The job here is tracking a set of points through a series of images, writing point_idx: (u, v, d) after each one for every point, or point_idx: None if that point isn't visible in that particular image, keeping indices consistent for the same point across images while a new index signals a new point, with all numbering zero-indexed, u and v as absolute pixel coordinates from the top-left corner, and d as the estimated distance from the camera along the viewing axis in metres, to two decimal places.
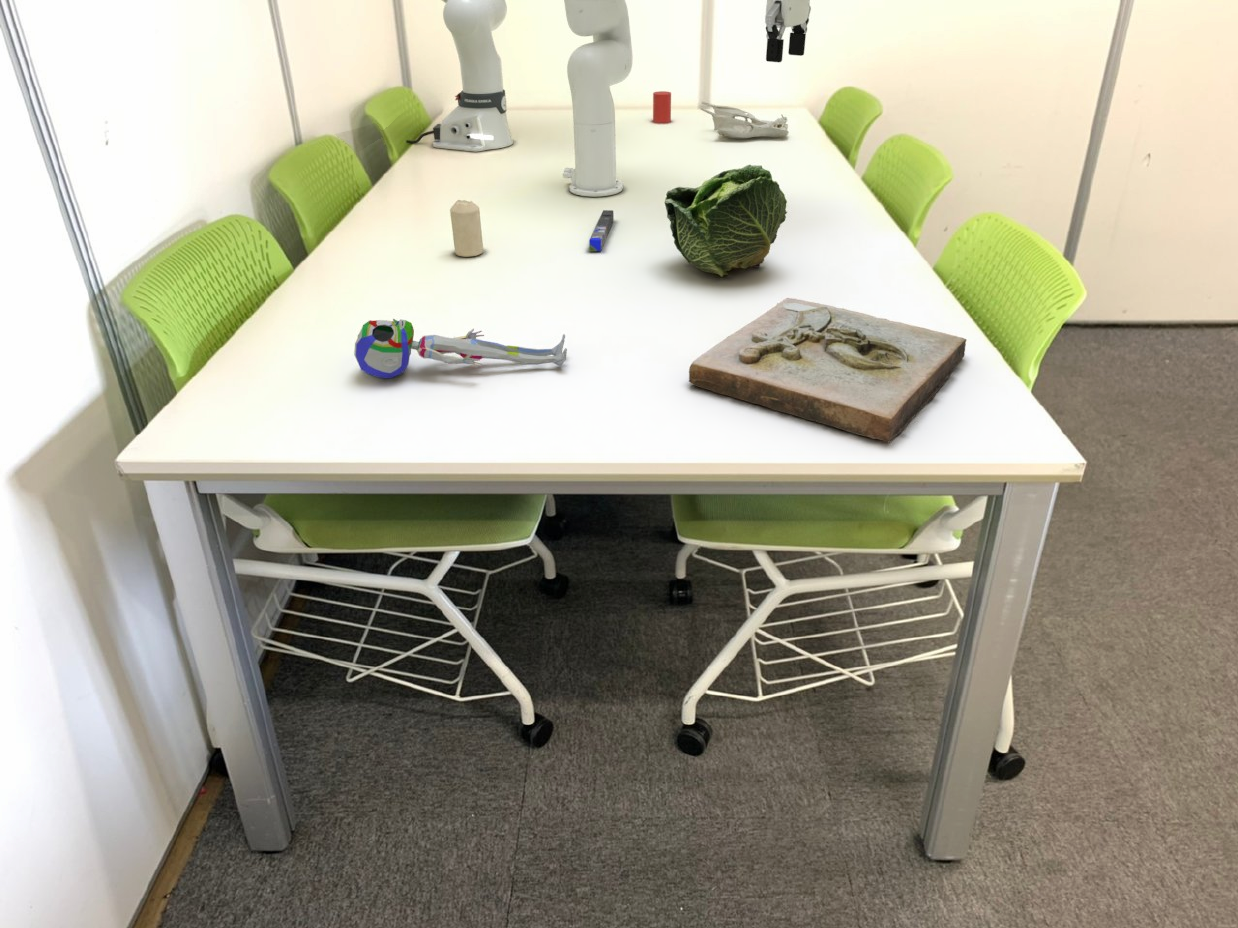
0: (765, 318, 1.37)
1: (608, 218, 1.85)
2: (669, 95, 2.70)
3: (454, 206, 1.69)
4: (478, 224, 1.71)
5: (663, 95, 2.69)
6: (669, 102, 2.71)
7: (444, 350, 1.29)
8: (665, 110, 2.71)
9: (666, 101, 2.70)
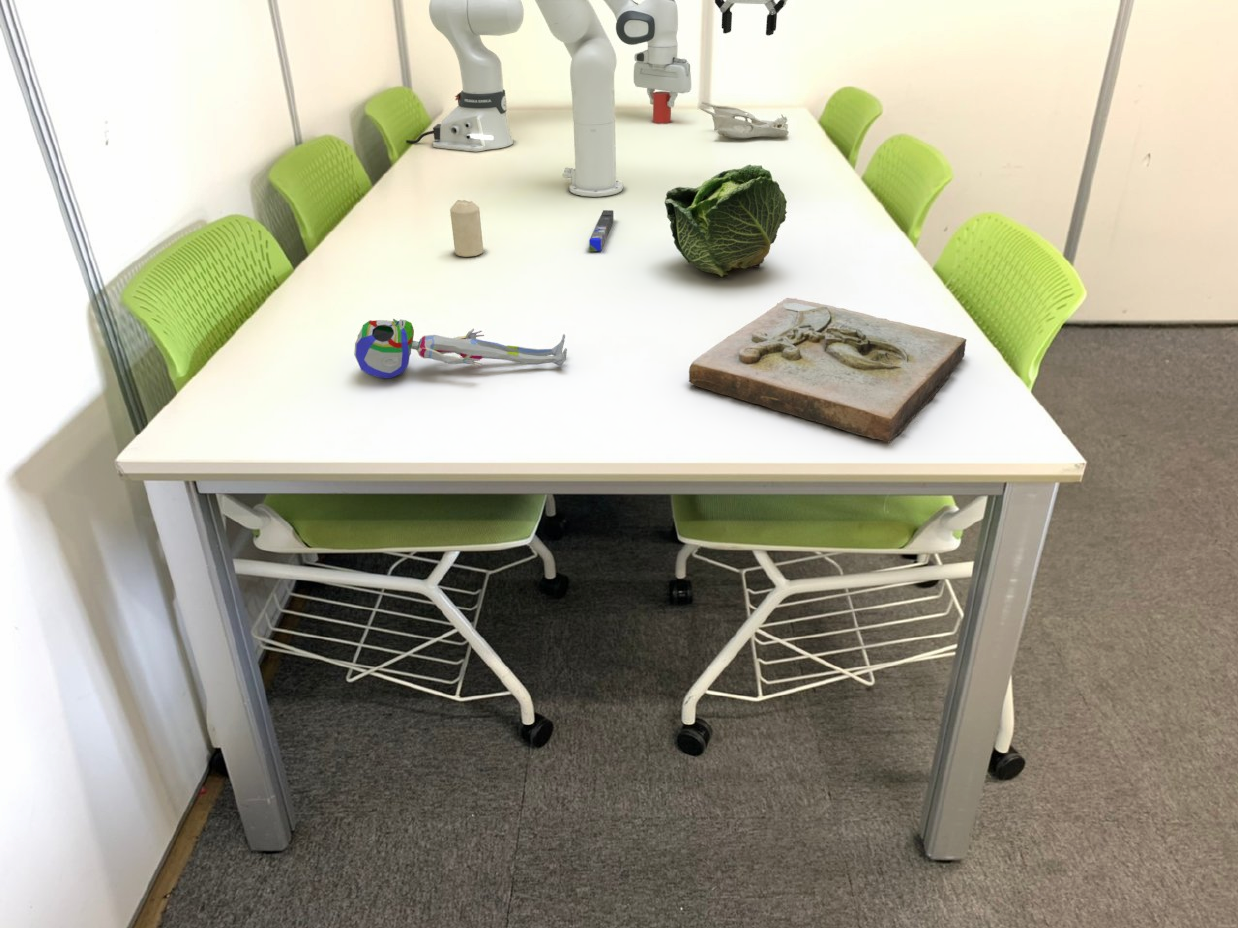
0: (765, 318, 1.37)
1: (608, 218, 1.85)
2: (669, 95, 2.70)
3: (454, 206, 1.69)
4: (478, 224, 1.71)
5: (663, 95, 2.69)
6: None
7: (444, 350, 1.29)
8: (665, 110, 2.71)
9: (666, 101, 2.70)
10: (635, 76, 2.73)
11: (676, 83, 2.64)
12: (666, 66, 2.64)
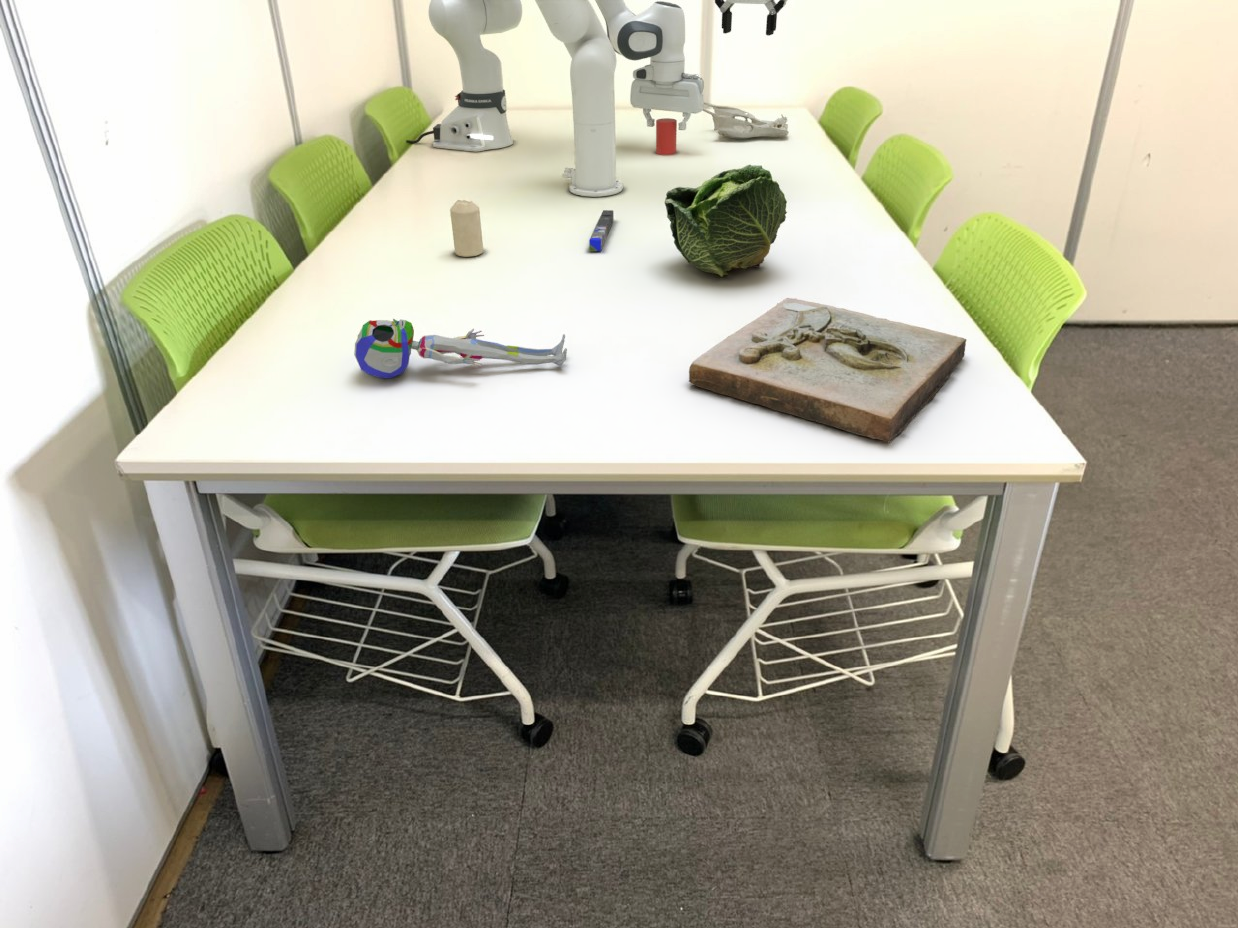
0: (765, 318, 1.37)
1: (608, 218, 1.85)
2: (675, 122, 2.37)
3: (454, 206, 1.69)
4: (478, 224, 1.71)
5: (670, 123, 2.35)
6: (675, 130, 2.38)
7: (444, 350, 1.29)
8: (672, 140, 2.38)
9: (673, 129, 2.37)
10: (633, 96, 2.37)
11: (687, 103, 2.30)
12: (674, 83, 2.30)
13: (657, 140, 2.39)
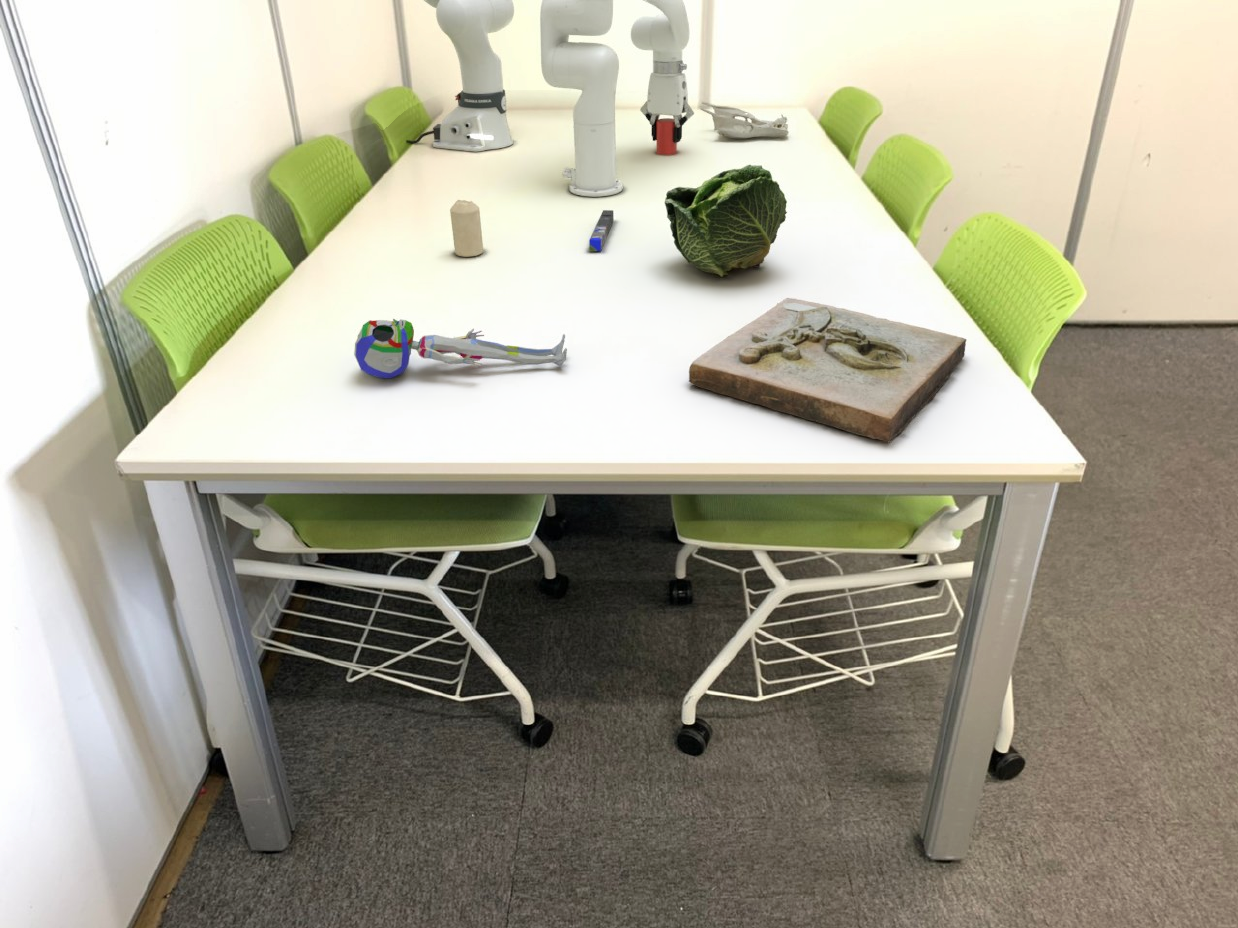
0: (765, 318, 1.37)
1: (608, 218, 1.85)
2: None
3: (454, 206, 1.69)
4: (478, 224, 1.71)
5: (670, 123, 2.35)
6: None
7: (444, 350, 1.29)
8: (672, 140, 2.38)
9: (673, 129, 2.37)
10: None
11: None
12: None
13: (657, 140, 2.39)
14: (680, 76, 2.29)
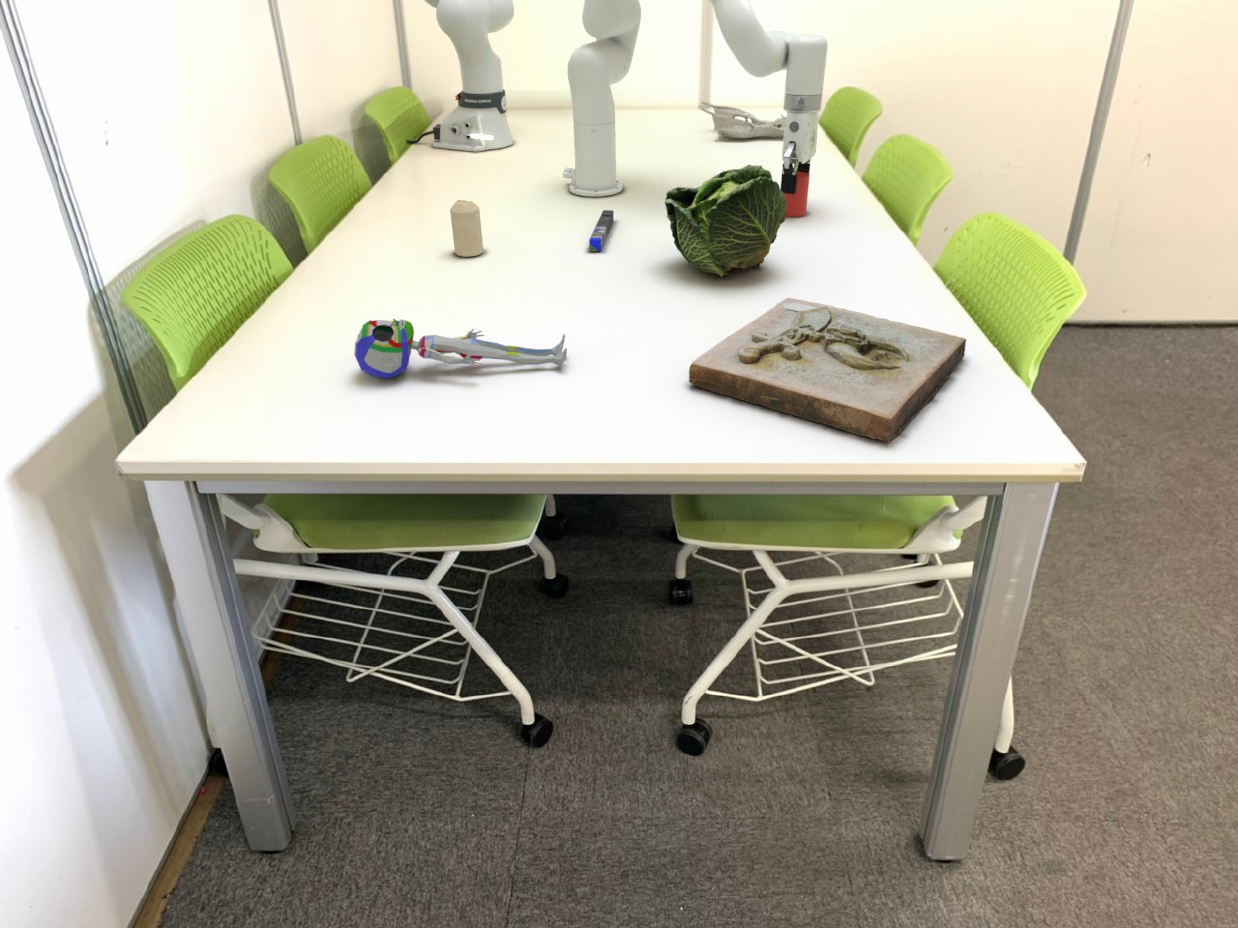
0: (765, 318, 1.37)
1: (608, 218, 1.85)
2: None
3: (454, 206, 1.69)
4: (478, 224, 1.71)
5: None
6: None
7: (444, 350, 1.29)
8: (785, 198, 1.91)
9: None
10: None
11: None
12: None
13: None
14: (790, 114, 1.80)
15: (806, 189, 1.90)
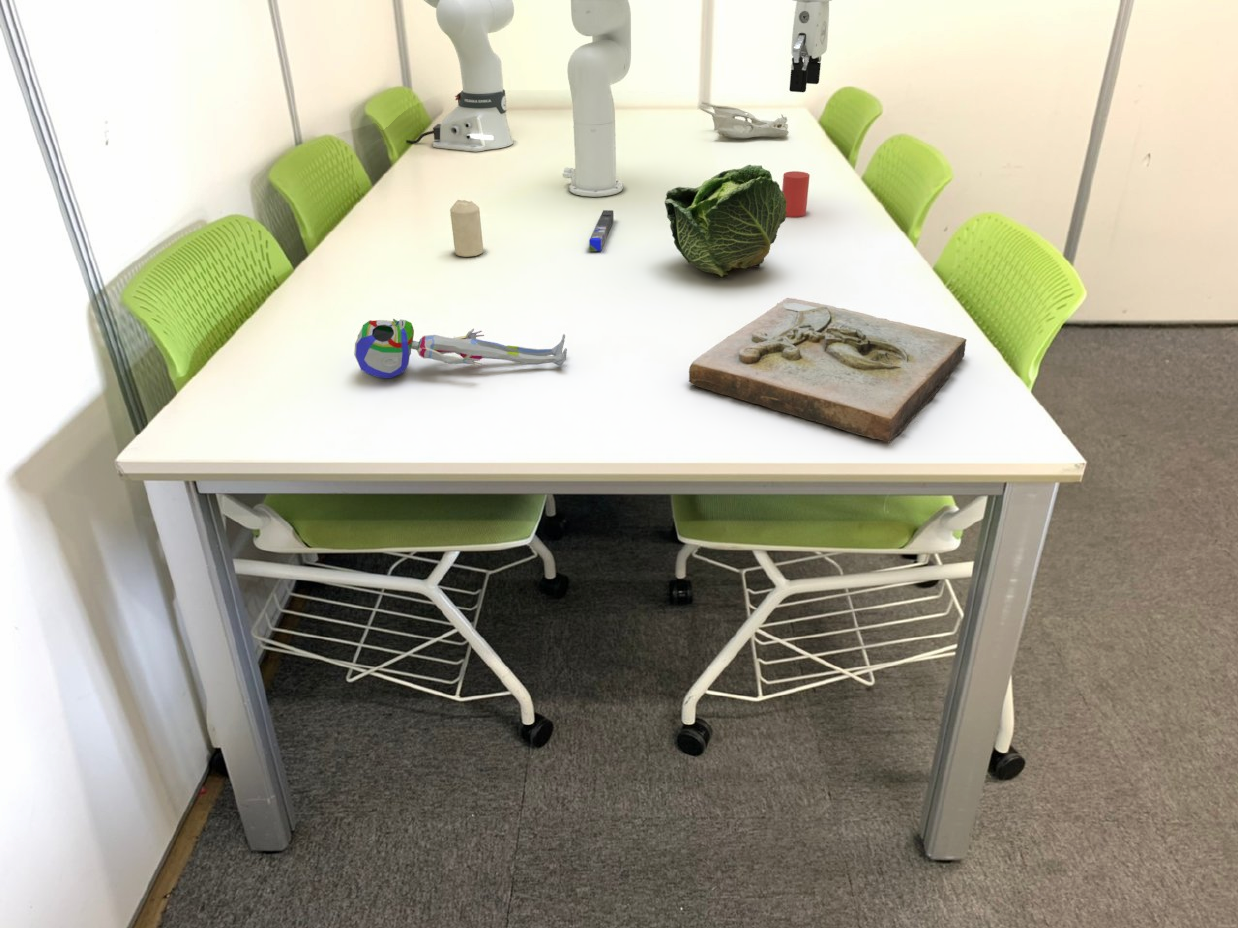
0: (765, 318, 1.37)
1: (608, 218, 1.85)
2: (793, 179, 1.88)
3: (454, 206, 1.69)
4: (478, 224, 1.71)
5: (785, 177, 1.89)
6: (793, 189, 1.89)
7: (444, 350, 1.29)
8: (785, 198, 1.91)
9: (787, 185, 1.89)
10: None
11: None
12: None
13: None
14: (800, 3, 1.69)
15: (806, 189, 1.90)
